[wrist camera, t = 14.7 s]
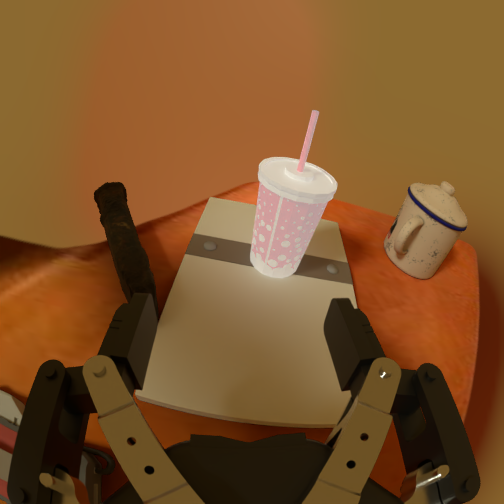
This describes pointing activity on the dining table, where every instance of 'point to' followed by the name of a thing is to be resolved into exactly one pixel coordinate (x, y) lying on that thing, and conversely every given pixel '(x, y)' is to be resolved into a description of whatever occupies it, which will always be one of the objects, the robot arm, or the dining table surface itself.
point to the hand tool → (124, 242)
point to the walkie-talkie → (3, 440)
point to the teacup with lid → (425, 229)
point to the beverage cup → (288, 209)
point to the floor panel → (249, 329)
